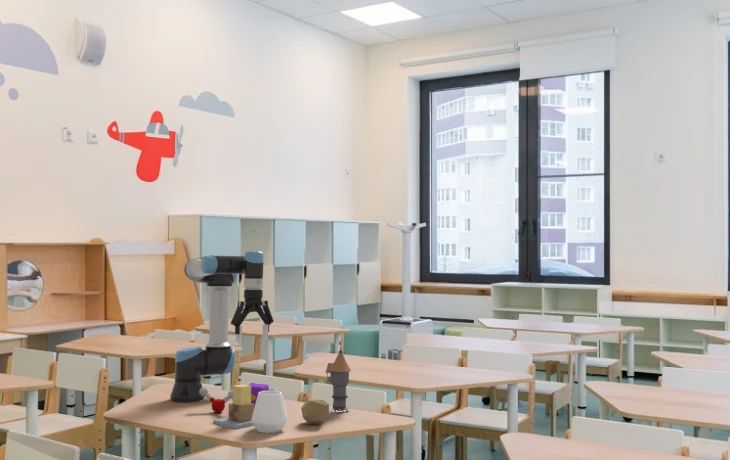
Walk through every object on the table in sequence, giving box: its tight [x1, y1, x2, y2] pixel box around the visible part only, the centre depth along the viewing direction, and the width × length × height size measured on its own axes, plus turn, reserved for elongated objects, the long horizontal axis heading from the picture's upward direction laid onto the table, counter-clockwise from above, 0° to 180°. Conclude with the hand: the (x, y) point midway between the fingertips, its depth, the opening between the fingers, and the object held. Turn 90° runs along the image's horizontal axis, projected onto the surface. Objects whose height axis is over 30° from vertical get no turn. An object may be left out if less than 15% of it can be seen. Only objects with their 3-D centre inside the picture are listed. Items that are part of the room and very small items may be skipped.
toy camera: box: [248, 381, 275, 407], centre depth 307 cm, size 11×14×10 cm
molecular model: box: [199, 386, 233, 414], centre depth 294 cm, size 18×6×10 cm, turn 68°
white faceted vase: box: [251, 390, 288, 434], centre depth 265 cm, size 13×13×14 cm
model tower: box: [325, 341, 352, 411], centre depth 302 cm, size 10×11×30 cm
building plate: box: [212, 416, 254, 430], centre depth 276 cm, size 14×16×1 cm
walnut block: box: [227, 402, 254, 422], centre depth 276 cm, size 7×7×6 cm
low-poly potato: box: [300, 398, 330, 425], centre depth 277 cm, size 15×11×12 cm
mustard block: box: [232, 384, 251, 406], centre depth 276 cm, size 5×5×7 cm
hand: (252, 341), depth 286 cm, fingers open, 13 cm apart
